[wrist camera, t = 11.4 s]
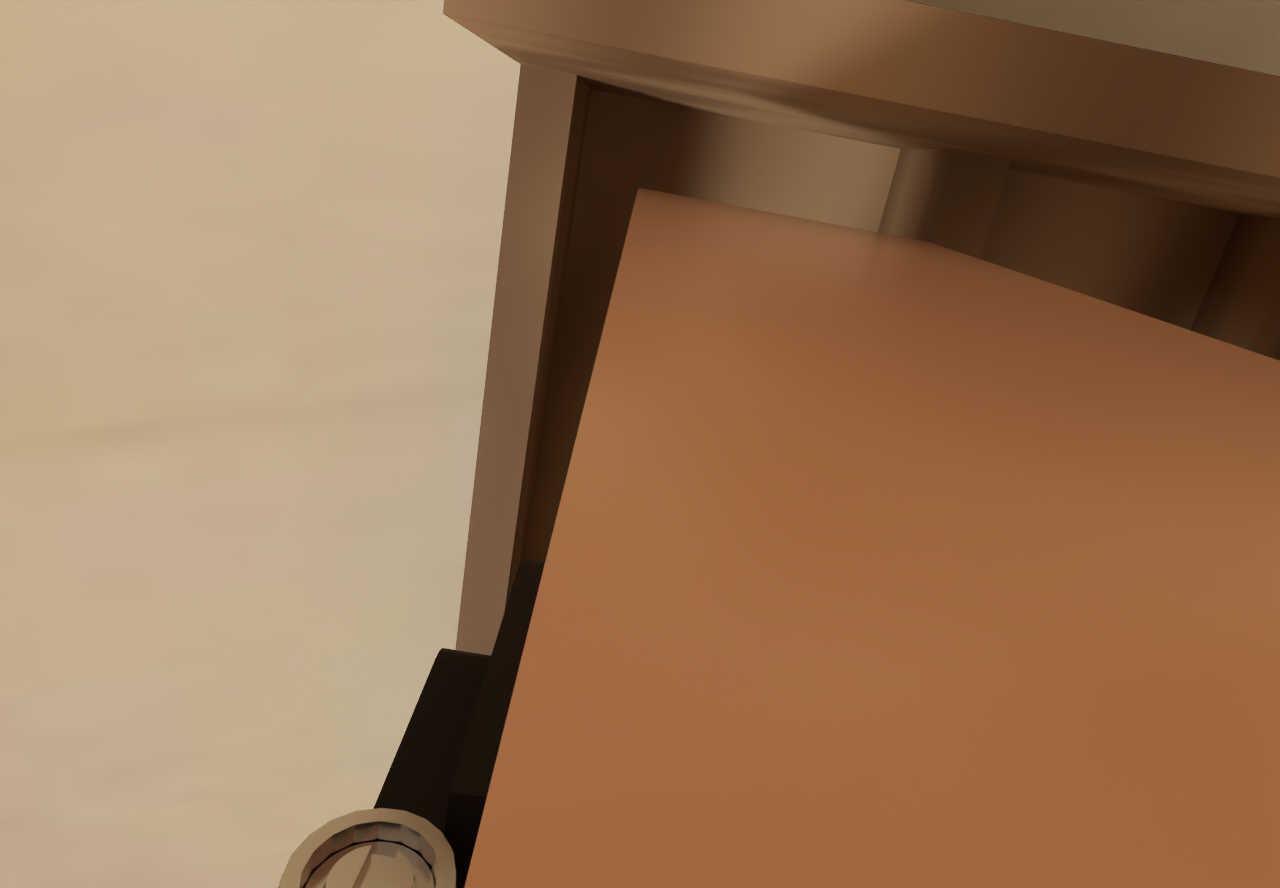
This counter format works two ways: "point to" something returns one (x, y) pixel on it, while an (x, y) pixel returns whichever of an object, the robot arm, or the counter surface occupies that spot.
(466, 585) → the wooden crate
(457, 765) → the robot arm
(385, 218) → the counter surface
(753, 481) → the peach rectangular block
